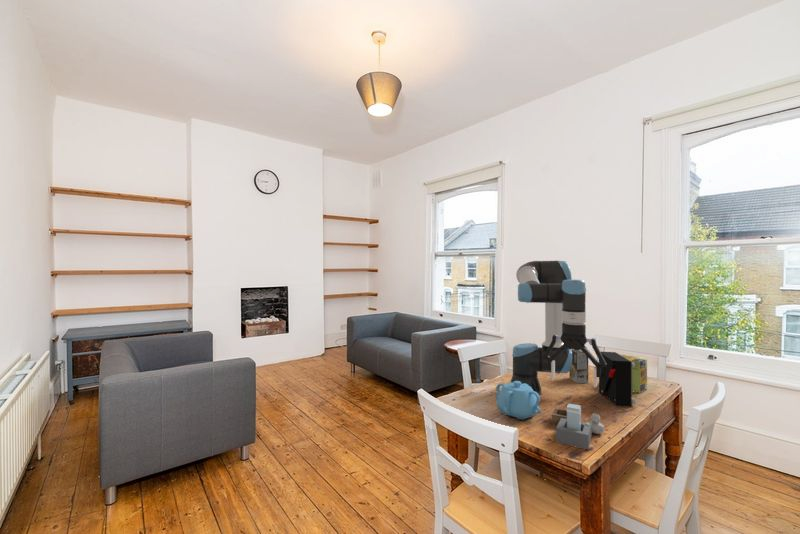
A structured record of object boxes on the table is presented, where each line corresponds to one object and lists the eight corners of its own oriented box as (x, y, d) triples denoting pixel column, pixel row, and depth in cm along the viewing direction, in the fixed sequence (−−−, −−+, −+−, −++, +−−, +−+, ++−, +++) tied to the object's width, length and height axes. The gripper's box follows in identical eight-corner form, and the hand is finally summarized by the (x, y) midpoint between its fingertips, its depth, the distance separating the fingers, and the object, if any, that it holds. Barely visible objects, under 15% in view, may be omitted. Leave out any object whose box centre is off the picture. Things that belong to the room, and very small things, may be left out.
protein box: (640, 393, 172) (640, 361, 172) (606, 385, 184) (606, 355, 184) (647, 389, 178) (647, 358, 178) (614, 381, 190) (614, 352, 190)
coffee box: (589, 383, 188) (588, 352, 188) (576, 383, 188) (576, 352, 188) (580, 377, 197) (580, 348, 197) (568, 377, 197) (568, 348, 197)
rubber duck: (585, 433, 131) (585, 411, 131) (590, 427, 136) (590, 406, 136) (601, 437, 127) (601, 415, 127) (606, 431, 132) (606, 410, 132)
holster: (551, 424, 138) (551, 414, 138) (555, 417, 145) (555, 407, 145) (574, 429, 134) (574, 419, 134) (577, 421, 140) (577, 411, 140)
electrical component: (636, 407, 155) (636, 361, 155) (611, 405, 157) (611, 360, 157) (620, 393, 172) (620, 352, 172) (597, 392, 174) (597, 351, 175)
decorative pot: (500, 421, 141) (500, 387, 141) (494, 405, 157) (494, 375, 157) (542, 423, 139) (542, 389, 139) (532, 407, 155) (532, 376, 155)
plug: (568, 436, 129) (568, 403, 129) (581, 439, 126) (581, 405, 126) (566, 440, 125) (566, 407, 125) (579, 444, 123) (579, 409, 123)
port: (556, 442, 124) (556, 426, 124) (561, 431, 133) (561, 416, 133) (588, 450, 119) (588, 434, 119) (591, 438, 127) (591, 423, 127)
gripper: (534, 321, 130) (534, 379, 130) (614, 328, 116) (614, 392, 116) (539, 318, 136) (539, 373, 136) (615, 324, 122) (614, 385, 122)
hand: (573, 382), depth 126 cm, fingers open, 13 cm apart
